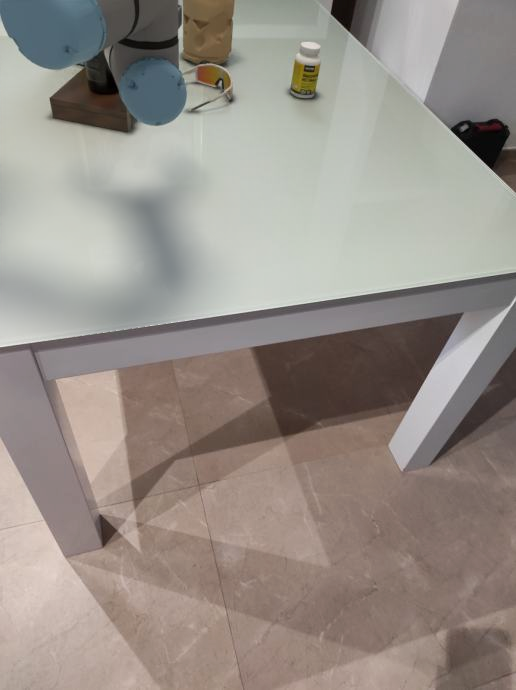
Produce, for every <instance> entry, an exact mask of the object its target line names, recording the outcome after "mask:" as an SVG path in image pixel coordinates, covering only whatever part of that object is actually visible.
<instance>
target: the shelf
mask: <svg viewBox="0 0 516 690" xmlns="http://www.w3.org/2000/svg"><path fill="white" fill-rule="evenodd" d="M49 103H50V109H51V114H52V119H58V120H63V121H67V122H68V121H69V122H73V123H78V124H84V125H89V126H94V127H100V128H105V129H110V130H115V131H119V132H126V133H129V132H130V130H131V129H132V120H131V119H132V118H131V115H132V114H131V113H130V112H129V110H128V109H127V107H126V106H125V104H124V103H123V102H122V99H121V98H120V95H119V91H118V92H115V93H111V94H101V93H96V92H94V91H92V90H91V89H90V88H89V87H88V82H87V75H86V68H85V66H83V68H81V70H80V71H78V72H77V73H76V74H75V75H73V77H71V78H70V79H69V80H68V81H67V82H65V84H64V85H62V86H61V87H60V88H59V89H58V90H56V91H55V93H53V94H52V95H51V96H50V97H49Z"/></svg>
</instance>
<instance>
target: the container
mask: <svg viewBox="0 0 516 690" xmlns="http://www.w3.org/2000/svg"><path fill="white" fill-rule="evenodd" d="M235 1H236V0H182V48H183V49H182V58H183V59H184V60H187V61H191V62H192V63H194V64H196V65H200V63H202V62H204V63H209V64H216V65H220V64H223V63H225V62H226V61H227V60H228V59H229V58H230V54H231V53H232V47H233V33H234V32H233V30H234V20H233V17H234V13H235Z"/></svg>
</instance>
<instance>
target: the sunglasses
mask: <svg viewBox="0 0 516 690" xmlns="http://www.w3.org/2000/svg"><path fill="white" fill-rule="evenodd" d="M181 73H182V74H183V75H182V76H184V75H190V74H193V73H194V75H195V81H196V83H199V84H202V85H204V86H205V85H206V86H209V87H212V88H217V87H218V86H219V85H220V84H221V90H223V92H222V93H220V94H219V95H217V96H215V97H213V98H209V99H207V100H206V101H204V102H202V103H199V104H198V105H195V106H193V107H191V108H189V109H188V111H189V112H193V111H197V110H198V109H200V108H202V107H204V106H207V105H210V104H211V103H212V104H213V103H215V102H216V101H217V100H219V99H221V98H222V97H224V96H227V98H228V100H232V97H233V92H234V85H233V84H234V82H233V77H232V74H231V72H229V70H228V69H226V68H225V67H223V66H221V65H220V64H211V63H209V62H206V63H203V64H196V65H195V66H193V67H190V68H188V69H186V70H184V71H181Z"/></svg>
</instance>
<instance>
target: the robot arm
mask: <svg viewBox="0 0 516 690" xmlns="http://www.w3.org/2000/svg"><path fill="white" fill-rule="evenodd" d="M0 19H1V22H2V25H3V27H4V30H5V32H6V34H7V36H8V38H10V39H12V41H13V42H14V44H15V46H17V48H18V51H19V52H20V54H21V55H22V56H24V58H26V60H28V61H29V62H31V63H32V64H34V65H36V66H38V67H40V68H43V69H47V70H51V71H60V70H65V69H68V68H71V67H73V66H75V65H79V63H82V62H86V61H89V60H91V59H92V58H93V57H95V56H96V55H98V53H99V52H101V51H103V53H104V55H105V58H106V60H107V62H108V65H109V67H110V70H111V72H112V75H113V77H114V79H115V82H116V85H117V87H118V90H119V95H120V98H121V99H122V102H123V103H124V104H125V106H126V107H127V109H128V110H129V112H130V113H131V114H130V115H131V116H132V117H133V118H134V119H136V120H137V121H138V122H139V123H142V124H144V125H148V126H150V127H151V126H152V127H159V126H165V125H168V124H169V123H171V122H173V121H175V120H176V119H177V118H178V117H179V116H180V115H181V113H183V110H184V109H185V107H186V103H187V99H188V98H187V97H188V90H187V84H186V82H185V81H186V80H185V78H184V77H183V76H184V75H183V74H182V71H181V70H180V39H179V29H181V26H183V5H181V4H179V0H0Z"/></svg>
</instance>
